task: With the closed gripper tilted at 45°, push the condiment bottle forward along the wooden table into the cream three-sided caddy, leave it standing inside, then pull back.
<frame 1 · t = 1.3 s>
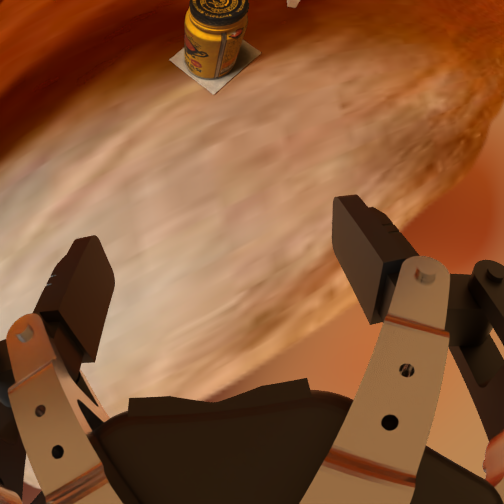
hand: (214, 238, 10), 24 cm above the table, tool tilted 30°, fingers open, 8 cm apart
condiment: (215, 56, 33), on the table
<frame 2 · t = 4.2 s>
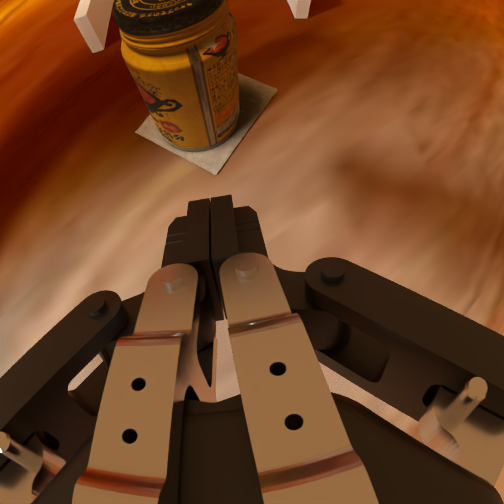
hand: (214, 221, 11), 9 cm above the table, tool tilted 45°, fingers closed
condiment: (207, 111, 22), on the table
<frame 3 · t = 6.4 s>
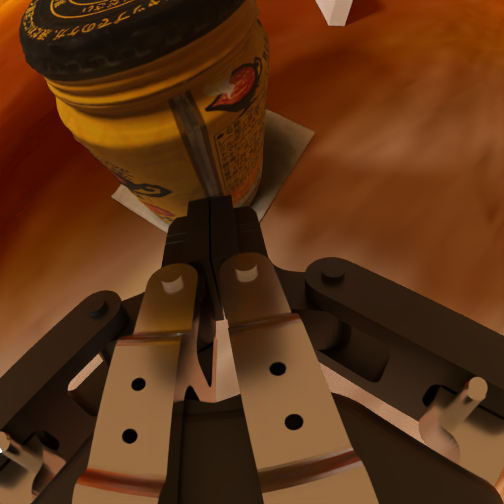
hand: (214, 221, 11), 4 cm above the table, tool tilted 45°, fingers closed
condiment: (213, 164, 16), on the table, touching gripper
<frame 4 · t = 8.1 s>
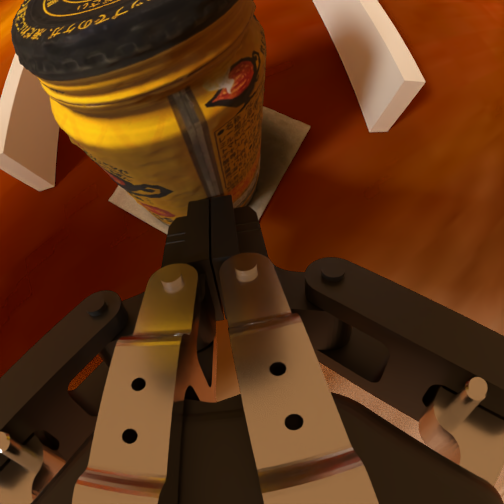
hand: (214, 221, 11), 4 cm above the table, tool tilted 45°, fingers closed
caddy: (193, 46, 17), on the table
condiment: (209, 163, 16), on the table, touching gripper
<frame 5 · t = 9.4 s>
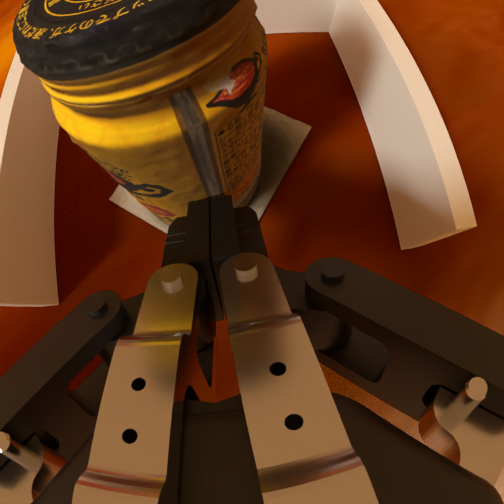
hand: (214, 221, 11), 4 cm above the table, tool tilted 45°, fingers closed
caddy: (202, 129, 16), on the table
condiment: (210, 162, 16), on the table, touching gripper
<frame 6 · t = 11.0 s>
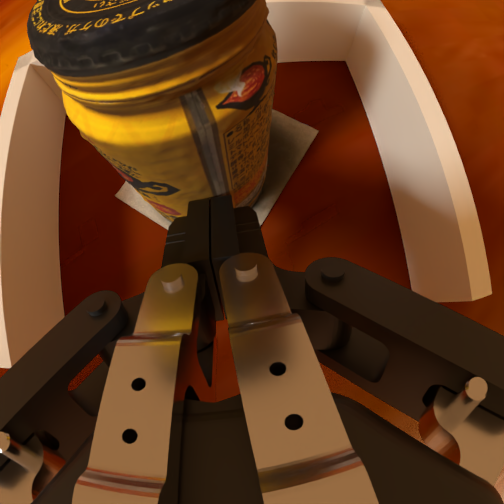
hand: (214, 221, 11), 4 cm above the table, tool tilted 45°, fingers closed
caddy: (213, 174, 16), on the table
condiment: (217, 163, 16), on the table
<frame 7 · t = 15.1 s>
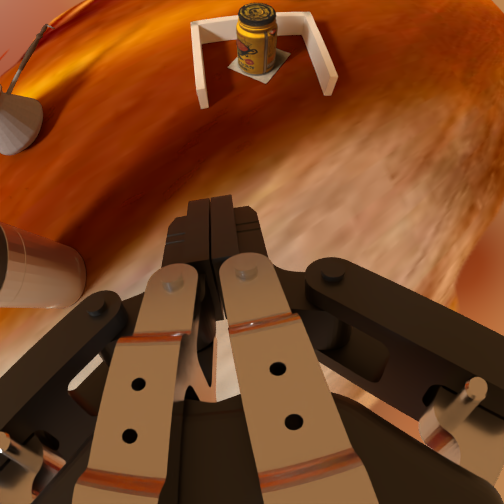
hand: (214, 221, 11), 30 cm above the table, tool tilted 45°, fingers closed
caddy: (259, 63, 46), on the table
coffee pot: (43, 112, 45), on the table
condiment: (259, 61, 46), on the table
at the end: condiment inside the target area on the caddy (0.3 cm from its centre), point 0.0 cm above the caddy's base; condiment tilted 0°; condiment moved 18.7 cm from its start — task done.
